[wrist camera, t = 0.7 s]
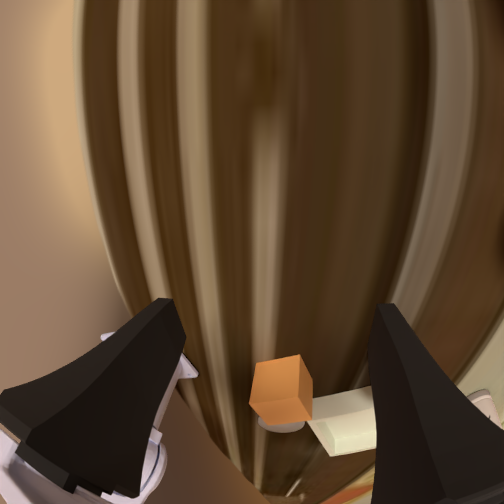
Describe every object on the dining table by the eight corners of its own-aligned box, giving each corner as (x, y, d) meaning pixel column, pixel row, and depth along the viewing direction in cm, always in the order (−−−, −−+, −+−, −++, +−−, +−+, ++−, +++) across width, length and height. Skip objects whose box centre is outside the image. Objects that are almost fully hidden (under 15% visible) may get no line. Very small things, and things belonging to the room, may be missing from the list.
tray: (330, 439, 34) (330, 456, 32) (307, 399, 29) (306, 421, 27) (414, 419, 30) (418, 436, 28) (415, 372, 25) (421, 393, 23)
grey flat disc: (268, 429, 35) (268, 434, 34) (251, 410, 33) (250, 415, 32) (310, 424, 33) (309, 429, 32) (296, 404, 31) (296, 409, 30)
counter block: (272, 387, 29) (267, 425, 25) (256, 362, 27) (248, 403, 23) (312, 380, 28) (312, 420, 23) (299, 353, 26) (298, 397, 22)
